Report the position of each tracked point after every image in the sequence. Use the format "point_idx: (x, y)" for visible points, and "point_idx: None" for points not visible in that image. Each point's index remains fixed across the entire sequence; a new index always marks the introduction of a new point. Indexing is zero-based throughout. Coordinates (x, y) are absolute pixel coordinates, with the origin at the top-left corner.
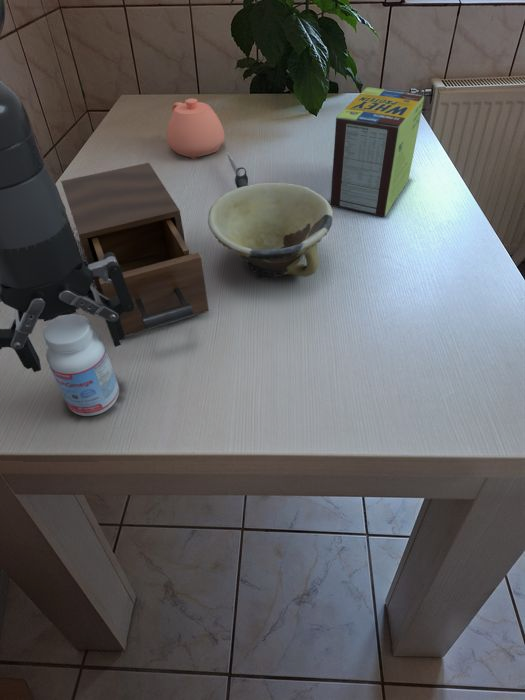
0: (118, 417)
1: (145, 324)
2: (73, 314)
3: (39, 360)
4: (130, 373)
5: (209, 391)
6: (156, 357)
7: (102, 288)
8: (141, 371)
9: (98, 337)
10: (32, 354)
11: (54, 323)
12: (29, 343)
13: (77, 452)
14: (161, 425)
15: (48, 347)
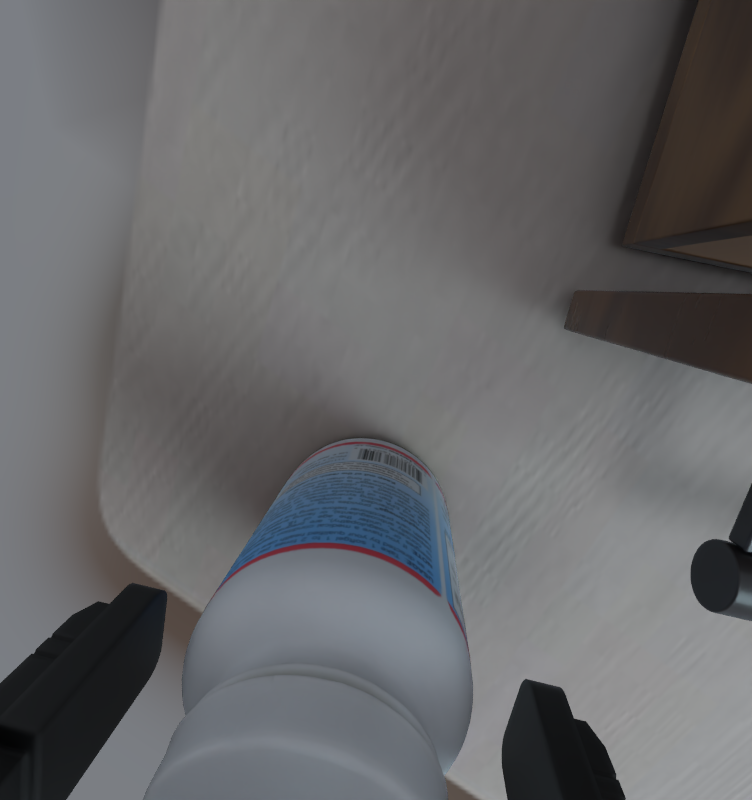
0: None
1: (716, 611)
2: (382, 793)
3: (163, 603)
4: (507, 489)
5: (663, 699)
6: (622, 478)
7: (736, 378)
8: (542, 504)
9: (458, 740)
10: (80, 777)
11: (228, 787)
12: (62, 753)
13: None
14: (478, 709)
15: (199, 660)
